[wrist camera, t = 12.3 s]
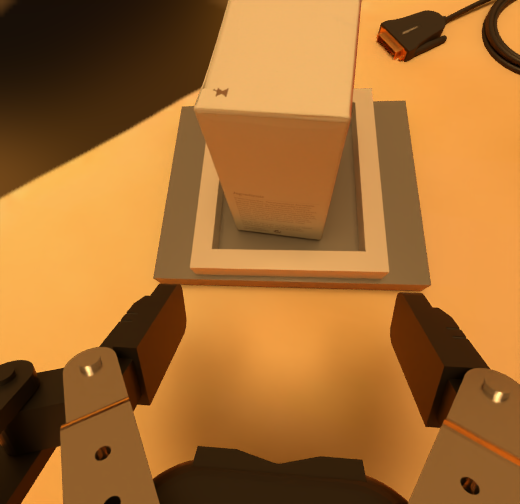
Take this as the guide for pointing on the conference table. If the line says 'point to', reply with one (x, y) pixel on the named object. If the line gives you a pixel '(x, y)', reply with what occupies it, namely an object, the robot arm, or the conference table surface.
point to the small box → (280, 109)
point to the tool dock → (295, 248)
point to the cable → (430, 29)
